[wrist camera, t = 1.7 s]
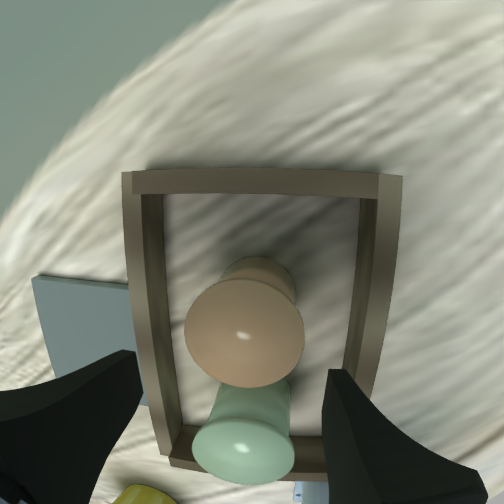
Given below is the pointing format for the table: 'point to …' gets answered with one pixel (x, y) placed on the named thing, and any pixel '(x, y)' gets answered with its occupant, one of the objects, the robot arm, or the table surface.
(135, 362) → the robot arm
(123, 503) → the plant pot
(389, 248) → the frame
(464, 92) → the table surface
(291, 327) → the terracotta pot
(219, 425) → the green pot
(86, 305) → the slate slab
